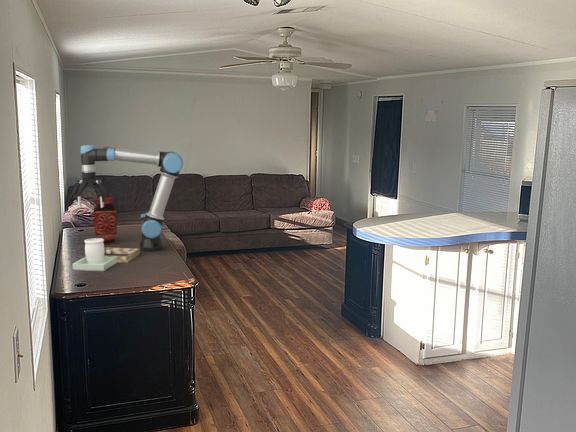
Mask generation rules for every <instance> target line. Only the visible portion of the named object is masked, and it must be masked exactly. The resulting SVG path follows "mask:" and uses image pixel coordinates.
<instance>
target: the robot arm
mask: <svg viewBox="0 0 576 432" xmlns="http://www.w3.org/2000/svg"><path fill="white" fill-rule="evenodd" d="M183 160H184V159H183V158H182V156H181V155H180V154H179V153H177V152H174V151H158V152H154V151H146V150H145V151H144V150H135V149H127V148H121V147H120V148H119V147H118V148H117V147H109V146H103V147H101V148H95V147H94V145H91V144H87V145H81V146H80V162H81V177H82V179H77V181H76V182H77V183H76V186H75V188H74V190H73V193H72V196H75V197H76V203H77V204H78V208H81V207H82V196H81V194H82V193H83V191H84V190H85V189H86V188H93V189H94V190H95V191H96V192H97V193H98V194H99V195H100V196H99V197H100V202H101V208H102V207H104V202H105V197H106V196H108V195H109V194H108V192H107V190H106V189H105V186H104V184H103V182H102V179H97V176H96V175H97V174H96V173H97V172H96V163H95V162H114V161H118V162H119V161H121V162H129V163H137V164H147V165H155V166H156V167H157V168H158V167H160V169H159V173H160V178H159V181H158V183H157V186H156V190H155V193H154V195H153V199H152V202H151V203H150V208H149V211H148V212H146V213H142V214H141V215H140V226H141V227H140V229H141V232H140V233H141V239H140V243H139V246H138V247H139V248H138V249H140V251H144V252H155V251H160V250H163V249H164V243H163V240H162V237H161V233H162V231H163V230H162V227H163V225H164V221H165V218H164V214H165V209H166V207H167V204H168V201H169V198H170V194H171V192H172V189H173V186H174V183H175V179H177V178H179V175H180V172H181V170H182V168H183V166H184V161H183ZM81 184H83V185H82V186H81ZM97 184H98V185H97ZM80 186H81V188H80ZM98 186H99V187H98Z"/></svg>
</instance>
